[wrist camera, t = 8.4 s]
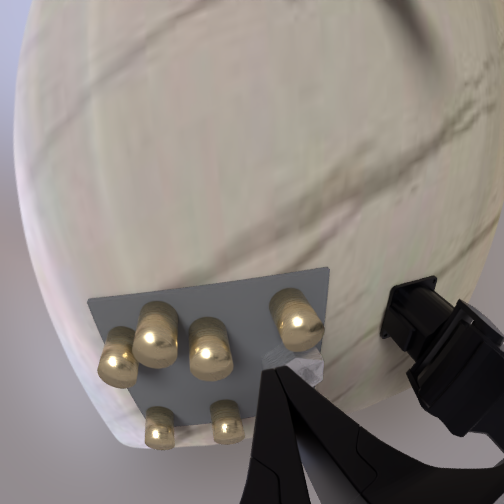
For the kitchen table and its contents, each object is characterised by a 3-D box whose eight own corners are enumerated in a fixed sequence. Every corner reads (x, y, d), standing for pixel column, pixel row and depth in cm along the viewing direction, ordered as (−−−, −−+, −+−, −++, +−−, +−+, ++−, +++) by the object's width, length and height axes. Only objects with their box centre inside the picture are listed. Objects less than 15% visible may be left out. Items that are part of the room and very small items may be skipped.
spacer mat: (327, 266, 22) (329, 269, 21) (310, 400, 29) (311, 403, 29) (88, 298, 19) (86, 302, 18) (151, 424, 26) (150, 427, 26)
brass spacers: (305, 279, 21) (327, 308, 18) (296, 400, 28) (307, 428, 24) (94, 307, 19) (80, 340, 15) (150, 421, 25) (150, 450, 22)
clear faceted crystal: (300, 329, 23) (310, 347, 21) (325, 354, 25) (335, 371, 23) (248, 365, 24) (254, 385, 22) (278, 386, 26) (285, 403, 24)
